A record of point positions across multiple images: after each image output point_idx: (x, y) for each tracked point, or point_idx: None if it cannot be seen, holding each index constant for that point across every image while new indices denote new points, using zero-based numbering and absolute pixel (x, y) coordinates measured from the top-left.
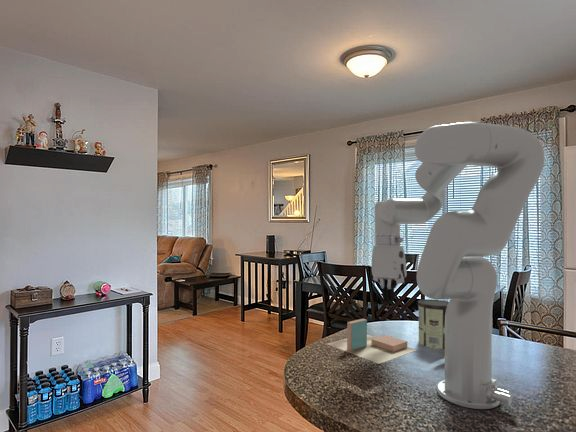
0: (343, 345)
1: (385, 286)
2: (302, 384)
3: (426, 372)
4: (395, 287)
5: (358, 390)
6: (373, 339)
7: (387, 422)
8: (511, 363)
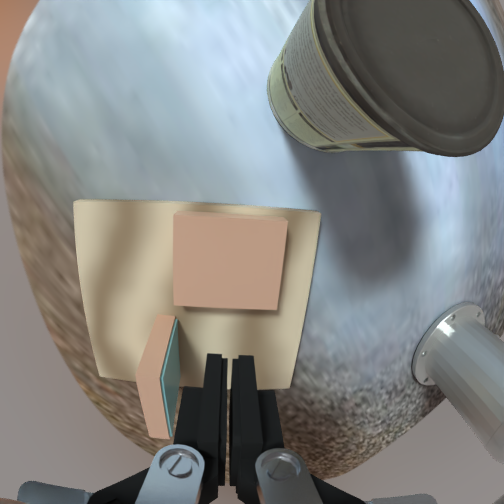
0: (131, 357)
1: (213, 499)
2: None
3: (381, 317)
4: (300, 459)
5: (306, 447)
6: (181, 303)
7: (368, 454)
8: None
